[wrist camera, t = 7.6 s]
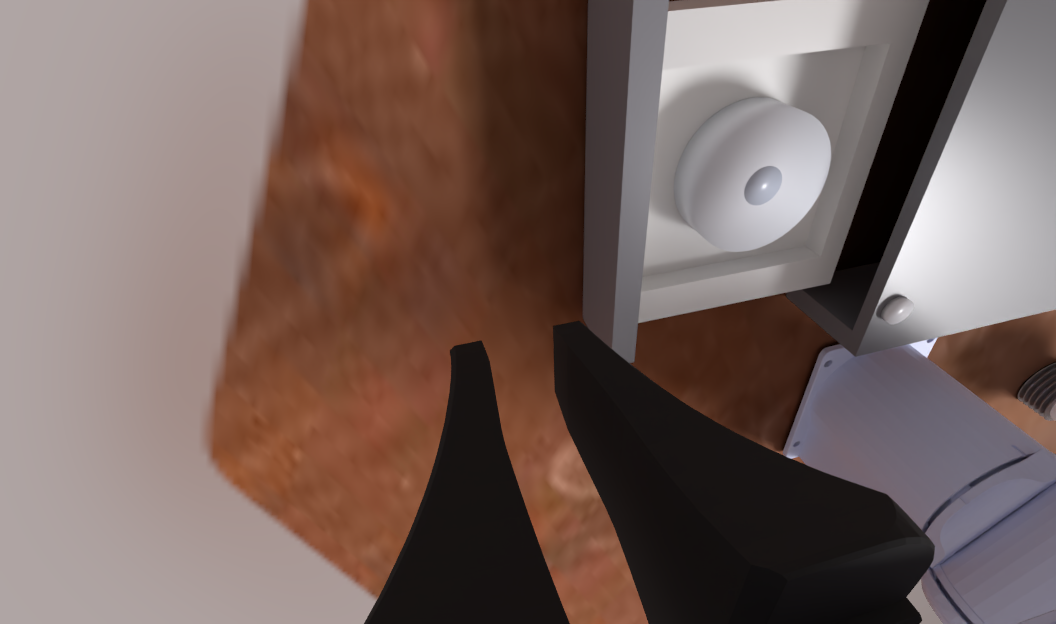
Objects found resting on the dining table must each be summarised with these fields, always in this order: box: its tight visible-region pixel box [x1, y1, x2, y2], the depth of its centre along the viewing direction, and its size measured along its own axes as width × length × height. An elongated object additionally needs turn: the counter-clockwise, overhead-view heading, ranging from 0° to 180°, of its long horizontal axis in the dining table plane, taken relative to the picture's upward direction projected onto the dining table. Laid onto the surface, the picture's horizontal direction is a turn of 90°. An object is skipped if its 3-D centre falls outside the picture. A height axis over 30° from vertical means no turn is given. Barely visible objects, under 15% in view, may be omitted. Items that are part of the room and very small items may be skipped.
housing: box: [786, 0, 1056, 357], centre depth 21 cm, size 12×16×5 cm
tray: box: [583, 0, 929, 363], centre depth 20 cm, size 11×13×3 cm
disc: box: [674, 97, 831, 252], centre depth 20 cm, size 5×5×2 cm
